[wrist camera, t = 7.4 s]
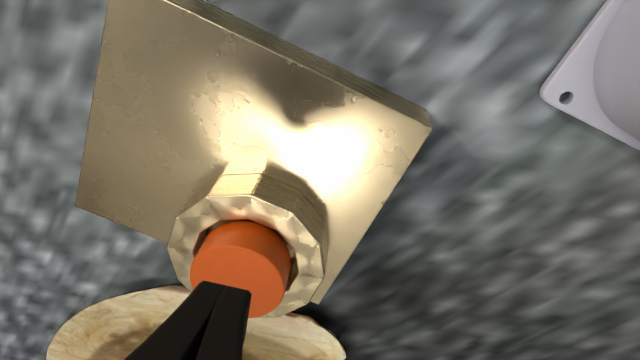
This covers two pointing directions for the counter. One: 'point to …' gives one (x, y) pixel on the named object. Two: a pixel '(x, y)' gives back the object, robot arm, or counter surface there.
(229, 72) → the oven controls
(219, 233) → the button
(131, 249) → the counter surface
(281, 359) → the pie
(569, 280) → the counter surface
